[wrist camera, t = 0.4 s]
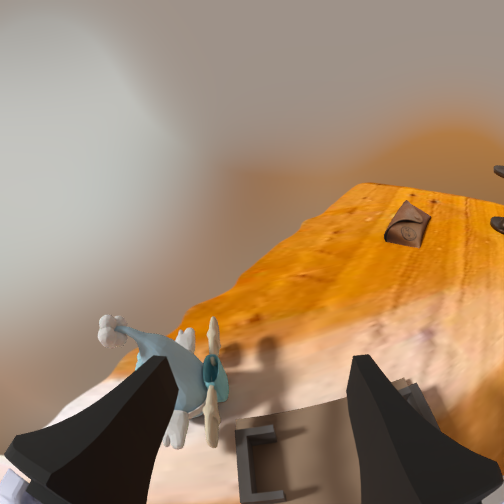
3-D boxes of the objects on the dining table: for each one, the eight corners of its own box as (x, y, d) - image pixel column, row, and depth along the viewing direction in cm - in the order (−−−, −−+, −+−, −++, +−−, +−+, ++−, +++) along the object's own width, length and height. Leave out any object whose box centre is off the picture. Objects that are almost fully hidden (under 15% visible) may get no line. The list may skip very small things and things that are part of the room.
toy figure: (161, 356, 37) (116, 271, 29) (232, 348, 36) (201, 254, 29) (144, 462, 22) (57, 389, 15) (237, 463, 22) (182, 392, 15)
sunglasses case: (421, 249, 47) (408, 219, 47) (393, 258, 53) (379, 231, 52) (432, 215, 58) (421, 191, 58) (409, 224, 64) (398, 201, 63)
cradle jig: (401, 383, 26) (410, 362, 24) (442, 474, 14) (460, 462, 12) (238, 423, 26) (228, 407, 24) (246, 530, 15) (236, 529, 13)
